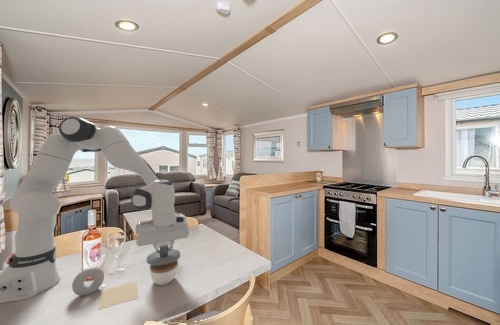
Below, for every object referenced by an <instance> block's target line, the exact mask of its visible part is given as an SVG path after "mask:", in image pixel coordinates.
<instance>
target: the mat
mask: <svg viewBox="0 0 500 325" xmlns="http://www.w3.org/2000/svg"><path fill="white" fill-rule="evenodd" d="M136 299H139V293H138V283H137V281H133V282H129V283H125V284H122V285H118V286H113V287H109V288H105V289H103V290H101V292H100V298H99V303H98V310H102V309H105V308H109V307H110V308H111V307H112V306H116V305H120V304H122V303H126V302H129V301H133V300H136Z"/></svg>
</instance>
